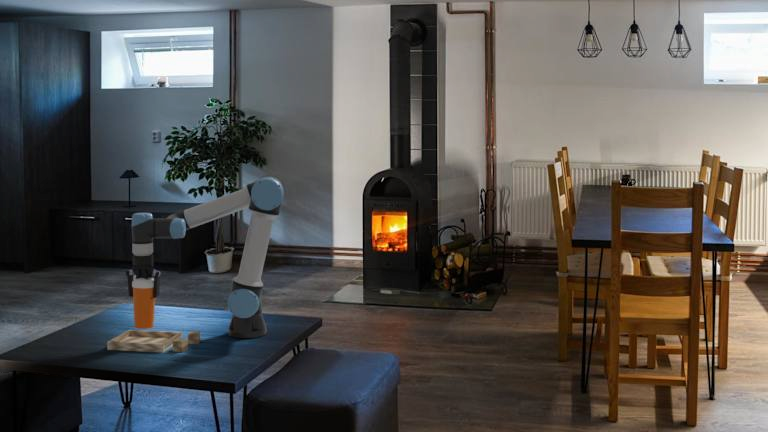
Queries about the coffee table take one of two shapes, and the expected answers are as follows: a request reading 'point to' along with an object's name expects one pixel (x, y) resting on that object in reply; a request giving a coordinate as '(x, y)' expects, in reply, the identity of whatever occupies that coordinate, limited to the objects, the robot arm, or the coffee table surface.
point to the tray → (143, 341)
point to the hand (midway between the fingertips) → (144, 315)
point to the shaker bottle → (143, 302)
